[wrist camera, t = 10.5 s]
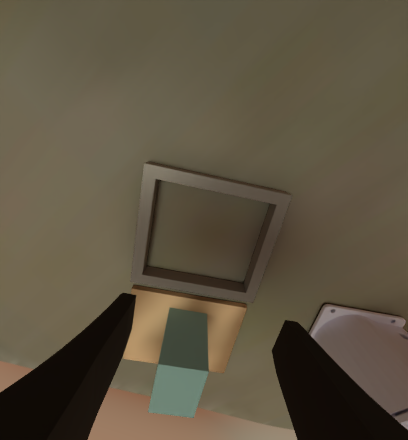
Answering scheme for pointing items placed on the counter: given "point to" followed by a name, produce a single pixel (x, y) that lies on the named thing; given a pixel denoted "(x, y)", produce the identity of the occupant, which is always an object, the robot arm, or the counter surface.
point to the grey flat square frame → (196, 282)
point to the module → (181, 364)
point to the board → (163, 300)
